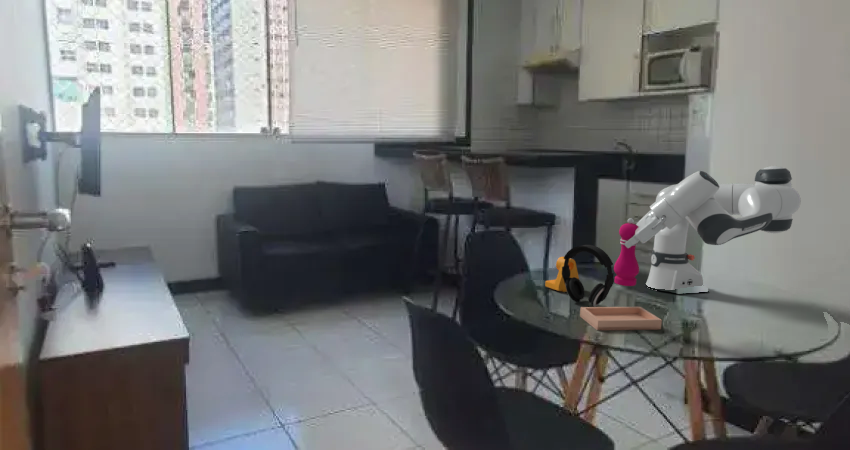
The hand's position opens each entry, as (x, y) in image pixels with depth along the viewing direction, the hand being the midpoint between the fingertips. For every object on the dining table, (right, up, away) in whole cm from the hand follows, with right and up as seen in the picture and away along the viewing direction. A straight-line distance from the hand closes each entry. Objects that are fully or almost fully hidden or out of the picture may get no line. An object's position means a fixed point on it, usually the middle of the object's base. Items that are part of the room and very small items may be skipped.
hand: (626, 244), depth 178 cm
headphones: (-6, -21, +23) cm, 32 cm away
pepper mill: (0, -12, +2) cm, 12 cm away
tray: (-1, -24, +4) cm, 25 cm away
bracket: (-10, -18, +42) cm, 46 cm away
